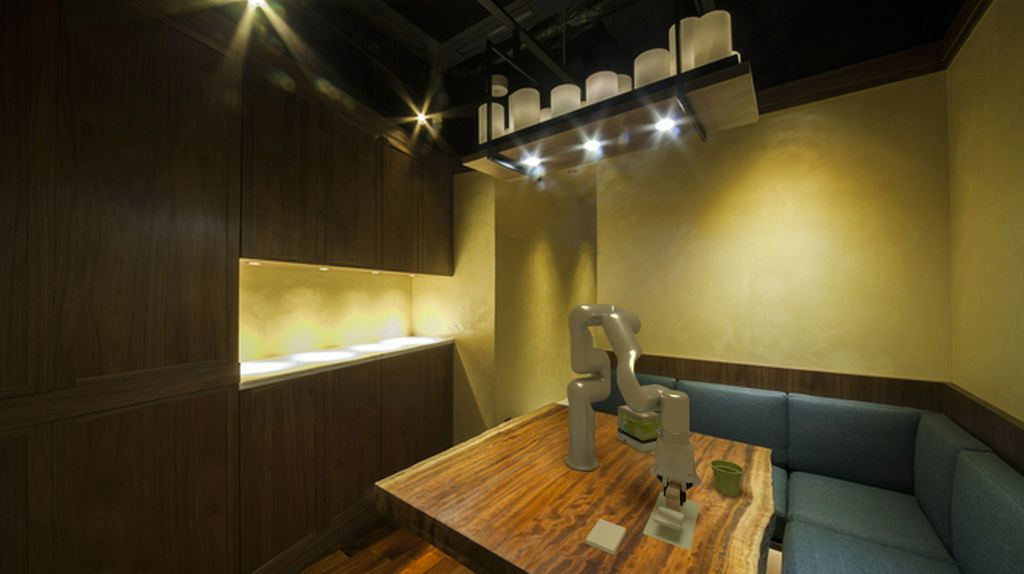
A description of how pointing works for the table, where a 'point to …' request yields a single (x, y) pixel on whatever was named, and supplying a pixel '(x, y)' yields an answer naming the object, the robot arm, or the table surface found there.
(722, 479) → the plant pot
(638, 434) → the tea box
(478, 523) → the table surface
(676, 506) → the turner
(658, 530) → the board
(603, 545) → the tile
